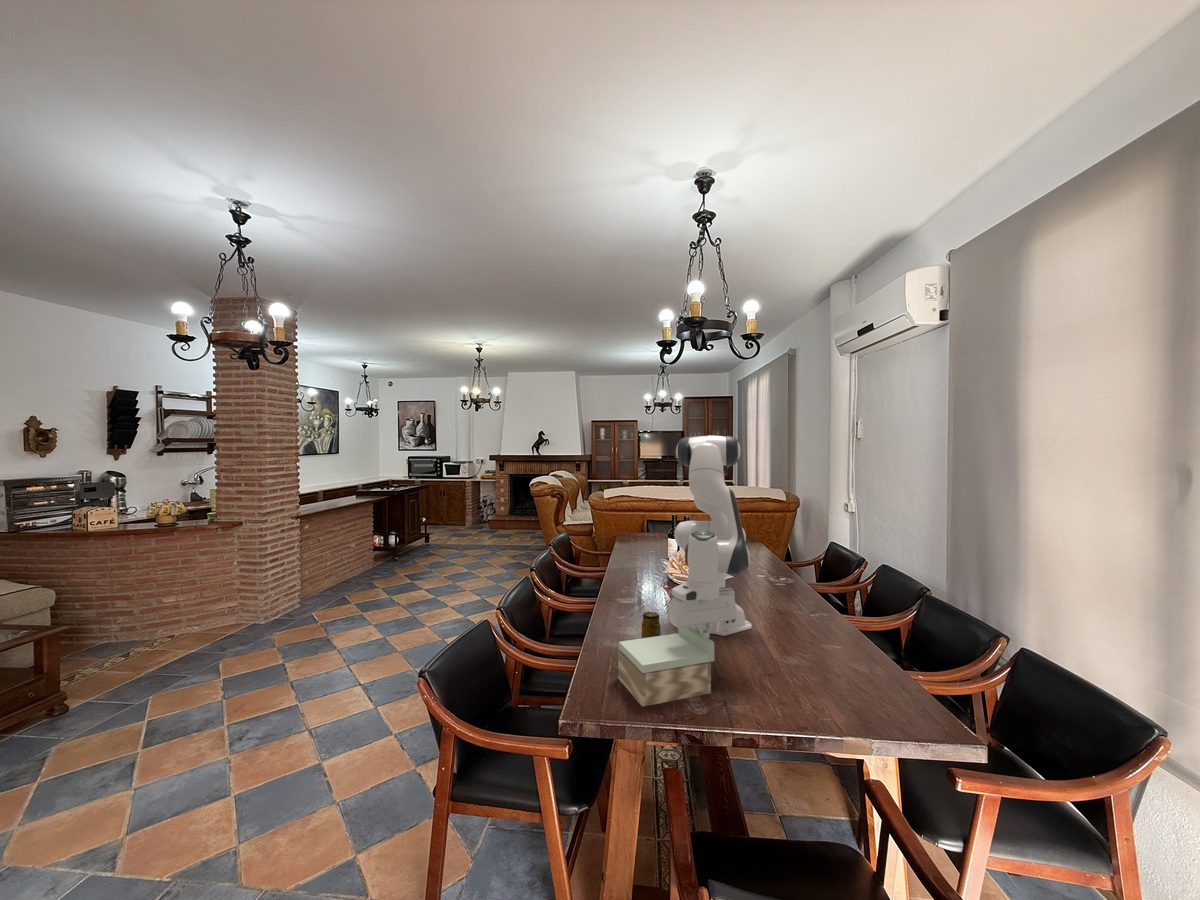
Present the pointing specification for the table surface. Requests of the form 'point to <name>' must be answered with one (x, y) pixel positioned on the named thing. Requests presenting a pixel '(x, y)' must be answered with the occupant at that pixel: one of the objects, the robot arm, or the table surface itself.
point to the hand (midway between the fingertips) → (703, 638)
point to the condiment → (650, 625)
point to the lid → (669, 650)
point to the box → (664, 682)
